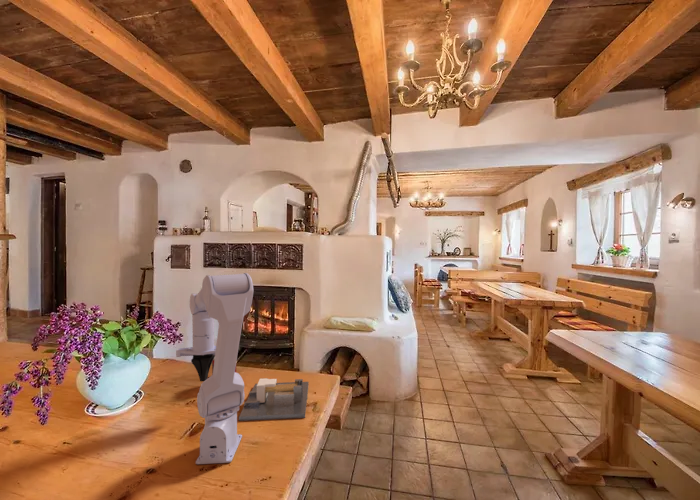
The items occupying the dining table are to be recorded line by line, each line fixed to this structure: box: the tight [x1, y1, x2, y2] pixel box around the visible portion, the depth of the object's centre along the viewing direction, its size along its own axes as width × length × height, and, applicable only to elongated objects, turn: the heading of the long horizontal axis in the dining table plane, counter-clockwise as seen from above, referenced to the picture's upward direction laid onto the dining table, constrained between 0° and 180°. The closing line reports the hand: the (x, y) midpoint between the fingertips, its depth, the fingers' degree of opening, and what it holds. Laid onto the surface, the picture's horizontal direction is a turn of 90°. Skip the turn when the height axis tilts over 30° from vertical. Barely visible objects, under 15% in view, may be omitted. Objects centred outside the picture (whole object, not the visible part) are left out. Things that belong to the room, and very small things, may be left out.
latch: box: [256, 378, 278, 403], centre depth 93 cm, size 5×5×5 cm
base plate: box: [238, 378, 309, 422], centre depth 94 cm, size 20×19×6 cm
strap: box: [265, 383, 300, 393], centre depth 94 cm, size 3×10×1 cm, turn 95°
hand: (203, 379), depth 87 cm, fingers closed
